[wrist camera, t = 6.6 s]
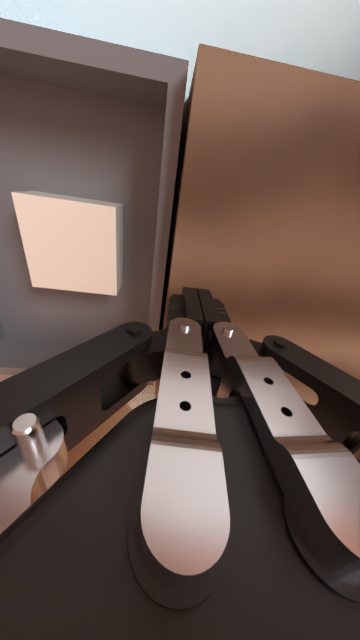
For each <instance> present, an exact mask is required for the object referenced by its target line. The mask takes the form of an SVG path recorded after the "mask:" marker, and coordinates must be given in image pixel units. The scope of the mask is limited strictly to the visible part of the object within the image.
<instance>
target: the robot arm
mask: <svg viewBox="0 0 360 640" xmlns="http://www.w3.org/2000/svg"><path fill="white" fill-rule="evenodd" d="M166 326H167V327H166V328H164V329H162V330H159V331H152V329H151V327H150V326H148V325H147V324H145V323H141V322H127V323H124V324H122V325H120V326H117V327H115V328H113V329H111V330H109V331H107V332H105V333H103V334H101V335H98V336H96V337H94V338H92V339H90V340H88V341H86V342H84V343H82V344H79V345H77V346H75V347H73V348H71V349H69V350H67V351H65V352H63V353H60V354H58V355H56V356H54V357H52V358H50V359H48V360H46V361H44V362H42V363H39V364H37V365H35V366H33V367H31V368H29V369H27V370H25V371H23V372H20V373H18V374H16V375H14V376H12V377H10V378H8V379H6V380H4V381H2V382H0V640H360V380H358V379H356V378H355V377H353V376H351V375H349V374H348V373H346V372H344V371H342V370H340V369H339V368H337V367H335V366H333V365H332V364H330V363H328V362H326V361H325V360H323V359H321V358H319V357H317V356H316V355H314V354H312V353H310V352H309V351H307V350H305V349H303V348H301V347H300V346H298V345H296V344H294V343H293V342H291V341H289V340H287V339H285V338H283V337H280V336H276V335H268V336H266V337H264V339H263V342H262V343H261V342H257V341H254V340H251V339H248V338H247V336H246V334H245V333H244V331H243V330H242V329H241V328H240V327H239V326H237V325H235V324H233V323H232V322H231V320H230V318H229V315H228V313H227V311H226V309H225V306H224V304H223V303H222V302H221V301H220V300H218V299H214V298H213V297H212V294H211V292H210V290H208V289H200V288H197V289H196V288H191V287H183V289H182V295H177V294H173V295H172V296H171V297H170V298H169V306H168V314H167V325H166ZM286 373H288V374H290V375H291V376H293V377H294V378H296V379H297V380H299V381H300V382H302V383H303V384H305V385H306V386H308V387H309V388H311V389H312V390H313V391H314V392H315V393H316V394H317V396H318V403H317V404H316V405H311V404H309V403H307V402H306V401H304V400H303V399H302V398H301V397H300V395H299V394H298V392H297V391H296V390H295V388H294V387H293V385H292V384H291V382H290V381H289V379H288V378H287V377H286ZM160 379H161V380H160ZM155 380H160V386H159V393H158V398H156V399H153V400H150V401H147V402H145V403H143V404H141V405H139V406H138V407H136V408H135V409H133V410H132V411H131V412H130V413H128V414H127V415H126V416H125V417H124V418H123V419H122V420H121V421H120V422H119V423H118V424H117V425H116V426H114V427H113V428H112V429H111V430H110V431H109V432H108V433H107V434H106V435H105V436H104V437H103V438H102V439H101V440H100V441H99V442H98V443H96V445H94V446H93V447H92V448H91V449H90V450H89V451H88V452H87V453H86V454H85V455H84V456H83V457H82V458H81V459H80V460H78V461H77V462H76V463H75V464H74V465H73V466H72V467H71V468H70V469H69V470H68V471H67V472H66V473H65V474H64V475H63V476H62V477H60V476H61V474H62V473H63V471H64V469H65V468H66V465H67V462H68V451H70V450H71V449H72V448H73V447H74V446H76V445H77V444H78V443H79V442H80V441H82V440H83V439H84V438H85V437H86V436H88V435H89V434H90V433H91V432H92V431H94V430H95V429H96V428H97V427H99V426H100V425H101V424H102V423H103V422H105V421H106V420H107V419H108V418H109V417H111V416H112V415H113V414H114V413H115V412H117V411H118V410H119V409H120V408H122V407H123V406H124V405H125V404H126V403H128V402H129V401H130V400H131V399H132V398H134V397H135V396H136V395H137V394H138V393H140V392H141V391H142V390H143V389H144V388H145V387H146V386H147V384H148V382H150V381H155ZM59 477H60V478H59ZM58 478H59V479H58ZM57 479H58V480H57ZM56 480H57V481H56ZM55 481H56V482H55ZM54 482H55V483H54Z"/></svg>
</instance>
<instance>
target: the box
mask: <svg viewBox="0 0 360 640" xmlns="http://www.w3.org/2000/svg"><path fill="white" fill-rule="evenodd" d="M188 63H189V61H188V60H184V59H179V58H175V57H171V56H166V55H162V54H157V53H153V52H149V51H144V50H140V49H135V48H131V47H127V46H122V45H118V44H113V43H109V42H105V41H100V40H96V39H91V38H87V37H83V36H78V35H74V34H69V33H65V32H61V31H56V30H52V29H47V28H43V27H39V26H34V25H30V24H25V23H21V22H17V21H12V20H8V19H3V18H0V374H11V375H16V374H18V373H20V372H23V371H25V370H27V369H29V368H31V367H33V366H35V365H37V364H39V363H42V362H44V361H46V360H48V359H50V358H52V357H54V356H56V355H58V354H60V353H63V352H65V351H67V350H69V349H71V348H73V347H75V346H77V345H79V344H82V343H84V342H86V341H88V340H90V339H92V338H94V337H96V336H98V335H101V334H103V333H105V332H107V331H109V330H111V329H113V328H115V327H117V326H120V325H122V324H124V323H127V322H141V323H145V324H147V325H148V326H150V327H151V329H152V331H159V323H160V314H161V305H162V296H163V287H164V278H165V269H166V260H167V251H168V242H169V233H170V224H171V215H172V206H173V197H174V189H175V180H176V171H177V162H178V153H179V144H180V135H181V126H182V117H183V108H184V99H185V90H186V81H187V72H188ZM19 191H39V192H45V193H52V194H59V195H66V196H72V197H79V198H86V199H93V200H99V201H106V202H113V203H119V204H123V284H122V286H121V288H120V290H119V292H118V294H117V296H115V295H105V294H96V293H87V292H77V291H68V290H59V289H49V288H40V287H32V282H31V278H30V274H29V269H28V265H27V260H26V256H25V251H24V247H23V243H22V238H21V234H20V229H19V225H18V220H17V216H16V212H15V207H14V203H13V198H12V194H11V192H19ZM148 384H149V385H153V381H150V382H148Z"/></svg>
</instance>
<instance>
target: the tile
mask: <svg viewBox="0 0 360 640" xmlns="http://www.w3.org/2000/svg"><path fill="white" fill-rule="evenodd" d="M11 194H12V198H13V203H14V207H15V212H16V216H17V220H18V225H19V229H20V234H21V238H22V243H23V247H24V251H25V256H26V260H27V265H28V269H29V274H30V278H31V282H32V287H40V288H49V289H59V290H68V291H77V292H87V293H96V294H105V295H115V296H117V294H118V292H119V290H120V288H121V286H122V284H123V204H119V203H113V202H106V201H99V200H93V199H86V198H79V197H72V196H66V195H59V194H52V193H45V192H39V191H19V192H11Z"/></svg>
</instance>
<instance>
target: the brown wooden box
mask: <svg viewBox="0 0 360 640" xmlns="http://www.w3.org/2000/svg"><path fill="white" fill-rule="evenodd" d="M183 287H191V288H196V289H197V288H200V289H208V290H210V292H211V294H212V297H213V298H214V299H218V300H220V301H221V302H222V303H223V304H224V306H225V309H226V311H227V313H228V315H229V318H230V320H231V322H232V323H233V324H235V325H237V326H239V327H240V328H241V329H242V330H243V331H244V333H245V334H246V336H247V338H248V339H251V340H254V341H257V342H261V343H262V342H263V339H264V337H266V336H268V335H276V336H280V337H283V338H285V339H287V340H289V341H291V342H293V343H294V344H296V345H298V346H300V347H301V348H303V349H305V350H307V351H309V352H310V353H312V354H314V355H316V356H317V357H319V358H321V359H323V360H325V361H326V362H328V363H330V364H332V365H333V366H335V367H337V368H339V369H340V370H342V371H344V372H346V373H348V374H349V375H351V376H353V377H355V378H356V379H358V380H360V81H356V80H352V79H348V78H344V77H339V76H335V75H331V74H327V73H322V72H318V71H314V70H310V69H306V68H301V67H297V66H293V65H289V64H284V63H280V62H276V61H272V60H268V59H263V58H259V57H255V56H251V55H246V54H242V53H238V52H234V51H230V50H225V49H221V48H217V47H213V46H208V45H204V44H200V43H199V48H198V53H197V58H196V63H195V68H194V73H193V78H192V83H191V88H190V93H189V98H188V106H187V115H186V123H185V132H184V140H183V149H182V157H181V165H180V174H179V182H178V191H177V199H176V208H175V216H174V225H173V233H172V241H171V250H170V258H169V267H168V275H167V284H166V292H165V301H164V309H163V317H162V326H161V330H162V329H164V328H166V327H167V326H166V325H167V314H168V306H169V298H170V297H171V296H172V295H173V294H177V295H182V289H183ZM286 377H287V378H288V379H289V381H290V382H291V384H292V385H293V387H294V388H295V390H296V391H297V392H298V394H299V395H300V397H301V398H302V399H303V400H304V401H306V402H307V403H309V404H311V405H316V404H317V403H318V396H317V394H316V393H315V392H314V391H313V390H312V389H311V388H309V387H308V386H306V385H305V384H303V383H302V382H300V381H299V380H297V379H296V378H294V377H293V376H291V375H290V374H288V373H286ZM160 380H161V379H160ZM160 380H156V391H155V399H156V398H158V393H159V386H160Z"/></svg>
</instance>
